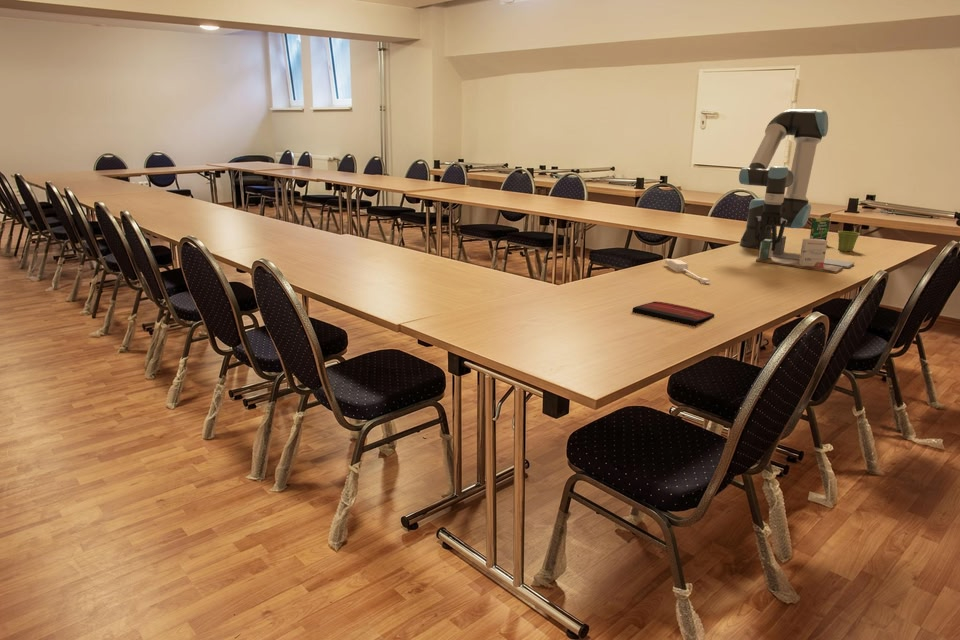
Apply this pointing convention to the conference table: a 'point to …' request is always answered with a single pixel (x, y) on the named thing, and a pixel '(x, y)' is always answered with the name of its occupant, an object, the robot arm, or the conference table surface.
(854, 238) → the plant pot
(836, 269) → the board with upright blocks
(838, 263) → the grey strip
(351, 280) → the conference table surface
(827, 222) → the coffee box
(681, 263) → the charging cable
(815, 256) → the ink box
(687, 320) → the binder
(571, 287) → the conference table surface
